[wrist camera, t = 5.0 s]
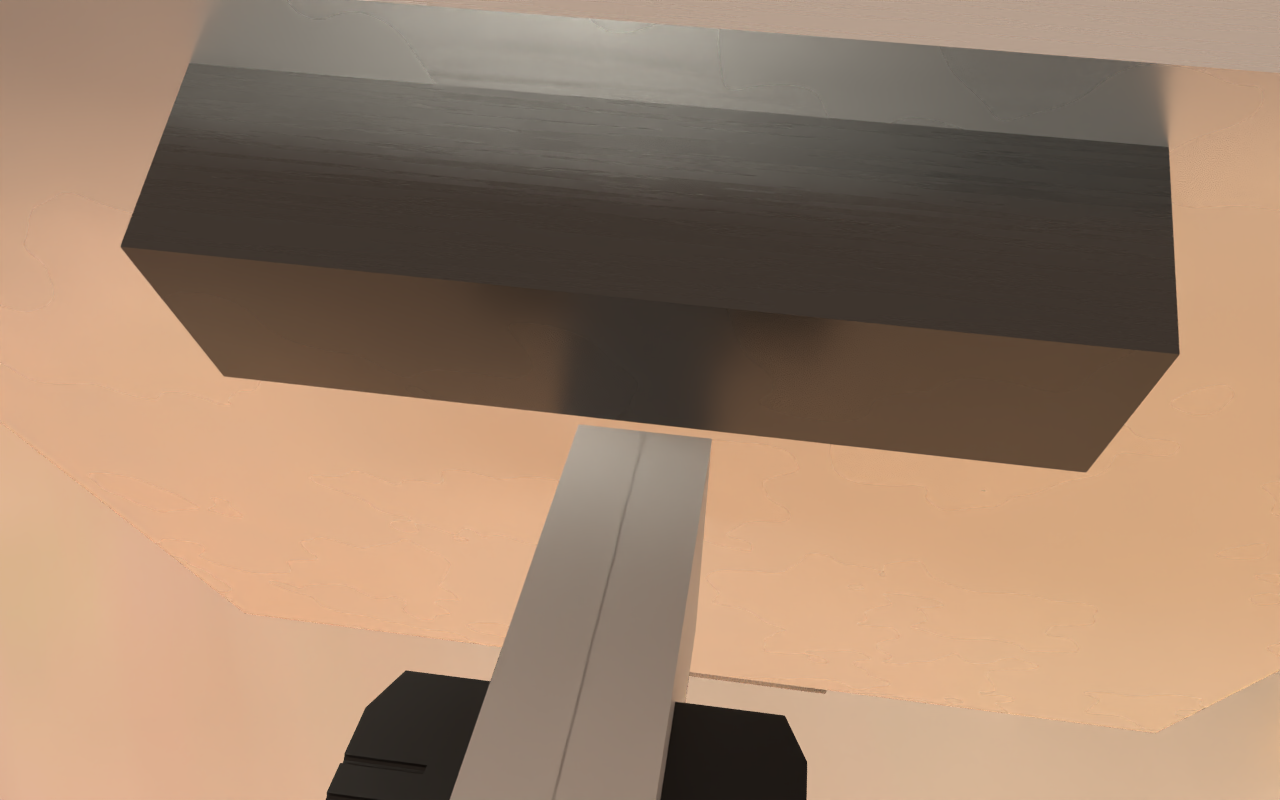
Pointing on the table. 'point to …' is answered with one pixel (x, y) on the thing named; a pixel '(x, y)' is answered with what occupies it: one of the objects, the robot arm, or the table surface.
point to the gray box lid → (680, 316)
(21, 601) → the table surface
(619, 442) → the robot arm
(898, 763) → the table surface
